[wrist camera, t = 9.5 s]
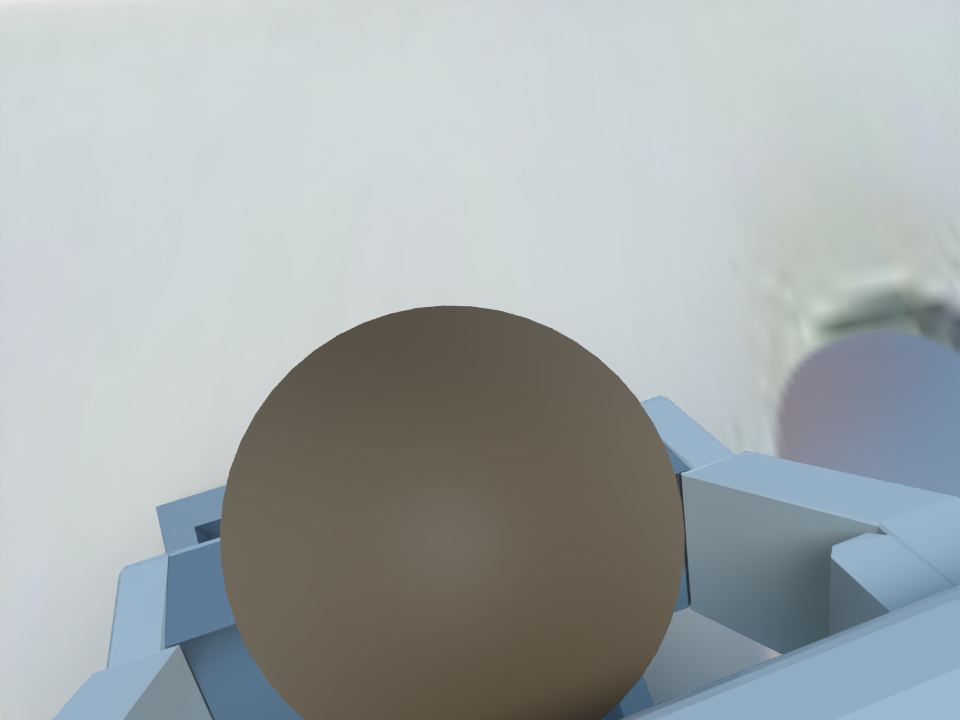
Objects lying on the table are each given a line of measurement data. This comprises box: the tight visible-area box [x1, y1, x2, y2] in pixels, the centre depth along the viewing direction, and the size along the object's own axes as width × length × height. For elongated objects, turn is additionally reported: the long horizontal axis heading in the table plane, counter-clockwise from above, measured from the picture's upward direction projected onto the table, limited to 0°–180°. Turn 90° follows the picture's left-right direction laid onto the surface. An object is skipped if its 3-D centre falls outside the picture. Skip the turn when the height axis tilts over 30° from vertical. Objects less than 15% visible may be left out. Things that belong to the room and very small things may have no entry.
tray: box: [156, 486, 654, 720], centre depth 28 cm, size 13×13×4 cm
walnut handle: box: [220, 306, 685, 720], centre depth 10 cm, size 5×5×9 cm
